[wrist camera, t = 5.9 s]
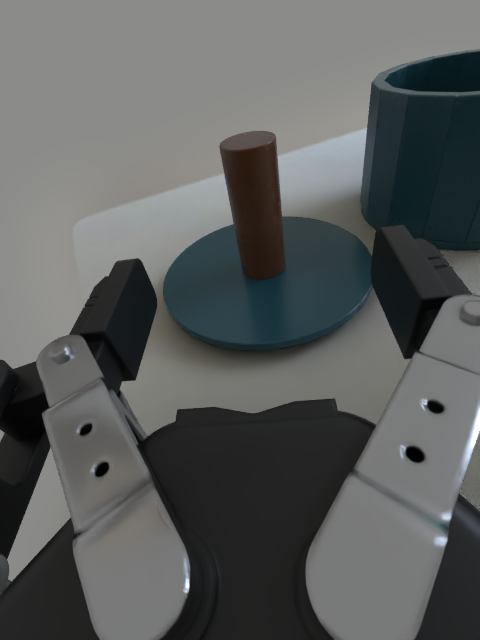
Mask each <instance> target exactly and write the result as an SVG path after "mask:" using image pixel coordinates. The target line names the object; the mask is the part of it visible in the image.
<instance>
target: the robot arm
mask: <svg viewBox="0 0 480 640" xmlns="http://www.w3.org/2000/svg"><path fill="white" fill-rule="evenodd" d="M371 282H372V285H373V288H374V290H375V292H376V295H377V297H378V299H379V302H380V304H381V306H382V309H383V311H384V313H385V315H386V318H387V320H388V322H389V325H390V327H391V329H392V332H393V334H394V336H395V338H396V341H397V343H398V345H399V348H400V350H401V352H402V354H403V357H404V359H411V358H412V359H411V361H410V362H409V364H408V366H407V368H406V370H405V372H404V374H403V376H402V378H401V380H400V381H399V383H398V385H397V387H396V389H395V391H394V393H393V395H392V397H391V399H390V400H389V402H388V404H387V406H386V408H385V410H384V412H383V414H382V416H381V418H380V420H379V421H378V423H377V425H375V424H374V423H372V422H370V421H368V420H366V419H364V418H361V417H359V416H356V415H354V414H350V413H347V412H342V411H338V410H337V405H336V401H335V399H322V400H307V401H294V402H291V403H288V404H285V405H281V406H278V407H275V408H272V409H268V410H265V411H262V412H259V413H246V412H240V411H234V410H229V409H223V408H217V407H207V408H193V409H179V410H177V415H176V421H175V422H173V423H171V424H168V425H166V426H164V427H162V428H160V429H158V430H157V431H155V432H153V433H152V434H151V435H149V436H148V437H147V436H146V434H145V432H144V431H143V429H142V427H141V425H140V424H139V422H138V420H137V418H136V416H135V415H134V413H133V411H132V409H131V407H130V406H129V404H128V402H127V400H126V398H125V397H124V395H123V393H122V392H121V390H120V386H121V383H122V381H132V380H136V377H137V373H138V370H139V367H140V363H141V360H142V357H143V353H144V350H145V347H146V343H147V340H148V336H149V333H150V330H151V326H152V323H153V320H154V316H155V313H156V309H157V297H156V293H155V291H154V288H153V286H152V284H151V282H150V279H149V277H148V275H147V272H146V270H145V268H144V265H143V263H142V262H141V260H140V259H130V260H122V261H117V262H116V263H115V265H114V267H113V268H112V270H111V272H110V274H109V276H107V277H104V278H103V279H102V280H101V281H100V282H99V283H98V284H97V285H96V286H95V287H94V289H93V291H92V293H91V295H90V299H88V300H87V302H86V304H85V307H84V308H83V310H82V311H81V313H80V315H79V317H78V319H77V321H76V323H75V325H74V326H73V328H72V330H71V332H70V334H69V335H67V336H63V337H61V338H58V339H57V340H54V341H53V342H51V343H50V344H48V345H47V346H46V347H45V348H44V349H43V350H42V351H41V352H40V354H39V356H38V358H37V360H36V362H33V363H30V364H27V365H24V366H21V367H18V368H15V369H12V368H11V367H10V366H9V365H8V364H7V363H6V362H5V361H3V360H0V430H2V431H3V432H4V433H5V434H4V436H3V438H2V440H1V442H0V640H480V511H479V510H478V509H476V508H475V507H474V506H473V505H472V504H471V503H469V502H468V501H467V500H466V499H465V498H464V497H462V496H461V495H460V494H459V491H460V488H461V485H462V482H463V479H464V475H465V472H466V469H467V466H468V463H469V460H470V457H471V454H472V451H473V448H474V444H475V441H476V438H477V435H478V432H479V429H480V296H478V295H472V294H471V292H470V291H469V290H468V288H467V287H466V286H465V284H464V283H463V282H462V280H461V279H460V278H459V277H458V275H457V274H456V273H455V271H454V270H453V269H452V267H449V263H448V262H447V261H446V259H445V258H443V256H442V254H441V253H440V252H439V250H438V249H437V248H436V246H434V245H433V244H431V243H429V242H428V241H426V240H424V239H422V238H417V239H414V238H413V237H412V235H411V234H410V232H409V231H408V230H407V228H406V227H405V225H395V226H387V227H380V228H378V229H377V230H376V234H375V240H374V247H373V255H372V262H371ZM50 447H51V449H52V452H53V456H54V460H55V463H56V466H57V470H58V473H59V477H60V480H61V484H62V487H63V491H64V494H65V498H66V501H67V505H68V508H69V511H70V515H71V518H70V519H69V520H68V521H67V522H66V524H65V525H64V526H63V527H62V528H61V529H60V530H59V531H58V532H57V533H56V534H55V535H54V537H53V538H52V539H51V540H50V541H49V542H48V543H47V544H46V545H45V546H44V548H42V550H41V551H40V552H39V553H38V554H37V555H36V556H35V557H34V558H33V559H32V560H31V562H30V563H29V564H28V565H27V566H26V567H25V568H24V569H23V570H22V571H21V572H20V573H19V575H18V576H17V577H16V578H15V579H14V580H13V581H12V582H11V581H10V580H8V576H9V564H8V561H7V558H8V556H9V553H10V550H11V548H12V545H13V543H14V540H15V538H16V535H17V532H18V530H19V527H20V524H21V522H22V520H23V517H24V514H25V511H26V509H27V507H28V504H29V501H30V499H31V496H32V494H33V491H34V488H35V486H36V483H37V481H38V478H39V476H40V473H41V470H42V468H43V465H44V463H45V460H46V458H47V455H48V452H49V450H50Z"/></svg>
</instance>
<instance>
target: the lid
mask: <svg viewBox="0 0 480 640" xmlns="http://www.w3.org/2000/svg"><path fill="white" fill-rule="evenodd" d="M219 147H220V153H221V157H222V163H223V169H224V174H225V180H226V185H227V190H228V196H229V201H230V206H231V212H232V217H233V223H234V224H233V225H230V226H227V227H224V228H221V229H219V230H217V231H214V232H212V233H210V234H208V235H206V236H204V237H203V238H201V239H199V240H198V241H196V242H195V243H193V244H192V245H191V246H189V247H188V248H187V249H186V250H184V251H183V252H182V253H181V254H180V255H179V256H178V257H177V259H176V260H175V261H174V262H173V264H172V265H171V267H170V268H169V270H168V272H167V275H166V277H165V281H164V287H163V295H164V301H165V304H166V306H167V309H168V311H169V314H170V315H171V317H172V318H173V320H174V321H175V322H176V323H177V324H178V325H179V326H180V327H181V328H182V329H183V330H184V331H186V332H187V333H189V334H190V335H191V336H193V337H195V338H197V339H199V340H201V341H203V342H206V343H209V344H212V345H215V346H219V347H224V348H229V349H236V350H246V351H249V350H272V349H281V348H286V347H291V346H296V345H299V344H302V343H306V342H309V341H312V340H315V339H317V338H319V337H321V336H324V335H326V334H328V333H330V332H332V331H333V330H335V329H337V328H338V327H340V326H342V325H343V324H344V323H345V322H347V321H348V320H349V319H351V318H352V317H353V316H354V315H355V314H356V313H357V312H358V311H359V310H360V309H361V307H362V306H363V304H364V303H365V302H366V300H367V299H368V296H369V294H370V292H371V289H372V282H371V262H372V257H371V255H370V253H369V251H368V249H367V248H366V247H365V245H364V244H363V243H362V242H361V241H360V240H359V239H358V238H357V237H356V236H354V235H353V234H351V233H350V232H348V231H346V230H344V229H342V228H340V227H338V226H336V225H333V224H330V223H327V222H324V221H320V220H315V219H310V218H302V217H282V211H281V198H280V184H279V171H278V158H277V146H276V136H275V134H273V133H272V132H267V131H252V132H245V133H241V134H237V135H234V136H231V137H229V138H227V139H225V140H224V141H222V142H221V143H220V146H219Z"/></svg>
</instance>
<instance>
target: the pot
mask: <svg viewBox="0 0 480 640" xmlns="http://www.w3.org/2000/svg"><path fill="white" fill-rule="evenodd" d="M360 202H361V211H362V214H363V216H364V218H365V220H366V221H367V222H368V223H369V224H370V225H371V226H372V227H374V228H375V229H376V230H377V229H378V228H380V227H387V226H395V225H405V227H406V228H407V230H408V231H409V232H410V234H411V235H412V237H413V238H414V239H417V238H422V239H424V240H426V241H428V242H429V243H431V244H433V245H434V246H436V248H438V249H451V250H474V249H480V49H477V50H469V51H462V52H456V53H451V54H445V55H439V56H433V57H429V58H425V59H421V60H417V61H413V62H410V63H406V64H402V65H398V66H396V67H393V68H391V69H389V70H386V71H384V72H382V73H380V74H378V76H377V77H376V78H375V79H374V80H373V82H372V85H371V95H370V106H369V116H368V126H367V137H366V147H365V157H364V168H363V178H362V189H361V199H360Z"/></svg>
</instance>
